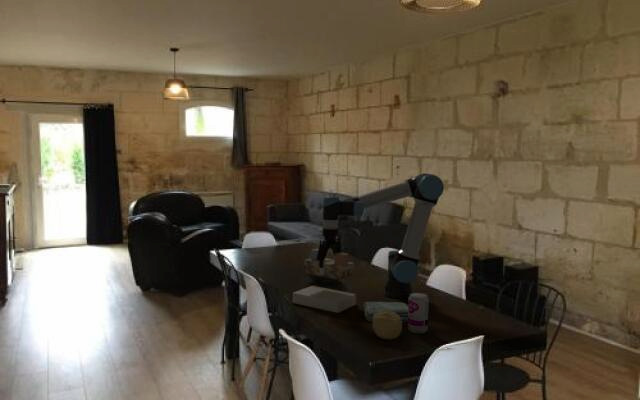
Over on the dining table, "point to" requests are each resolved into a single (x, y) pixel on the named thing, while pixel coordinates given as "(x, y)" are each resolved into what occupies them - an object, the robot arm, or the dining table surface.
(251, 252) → the dining table surface
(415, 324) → the supplement can
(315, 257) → the grey cube
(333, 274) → the board
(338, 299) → the dock
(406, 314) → the towel
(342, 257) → the block
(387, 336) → the tan round ball
